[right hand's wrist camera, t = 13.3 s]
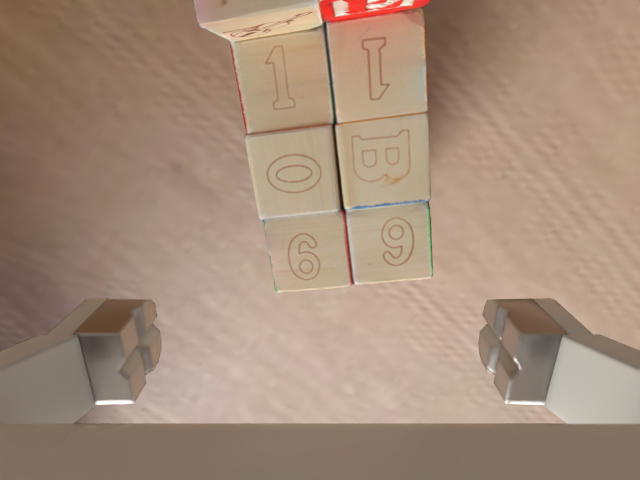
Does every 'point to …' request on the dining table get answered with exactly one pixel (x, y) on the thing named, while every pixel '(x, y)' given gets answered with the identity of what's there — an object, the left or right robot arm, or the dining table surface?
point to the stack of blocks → (334, 134)
